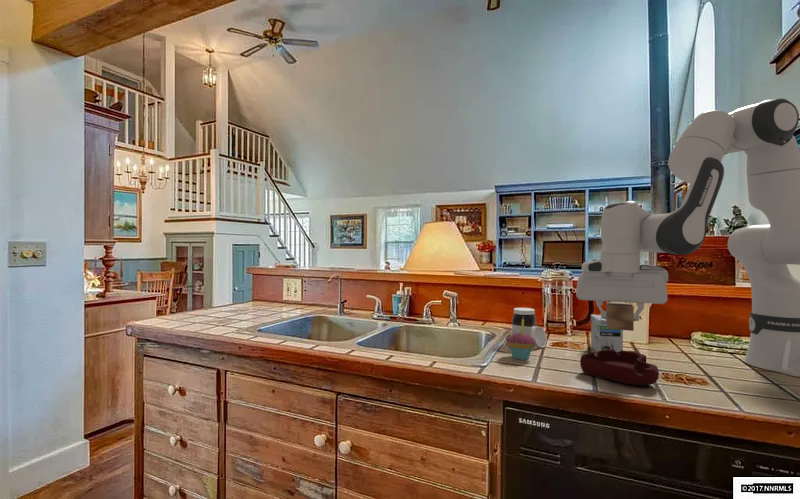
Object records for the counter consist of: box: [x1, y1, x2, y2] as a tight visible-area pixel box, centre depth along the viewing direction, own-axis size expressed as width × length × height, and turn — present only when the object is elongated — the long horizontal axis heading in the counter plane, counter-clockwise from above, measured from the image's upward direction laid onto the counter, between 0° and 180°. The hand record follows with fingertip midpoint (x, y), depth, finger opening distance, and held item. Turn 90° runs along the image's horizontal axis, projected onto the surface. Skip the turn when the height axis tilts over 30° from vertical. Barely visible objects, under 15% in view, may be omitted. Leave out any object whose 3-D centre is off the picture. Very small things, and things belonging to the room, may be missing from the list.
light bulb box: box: [590, 314, 624, 353], centre depth 125 cm, size 11×7×11 cm, turn 168°
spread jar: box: [511, 307, 548, 349], centre depth 133 cm, size 12×11×12 cm
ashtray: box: [579, 349, 660, 389], centre depth 101 cm, size 18×16×5 cm
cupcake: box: [505, 316, 537, 361], centre depth 118 cm, size 9×8×12 cm
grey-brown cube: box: [605, 301, 635, 332], centre depth 101 cm, size 6×6×6 cm
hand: (619, 319), depth 101 cm, fingers closed on grey-brown cube, 5 cm apart
